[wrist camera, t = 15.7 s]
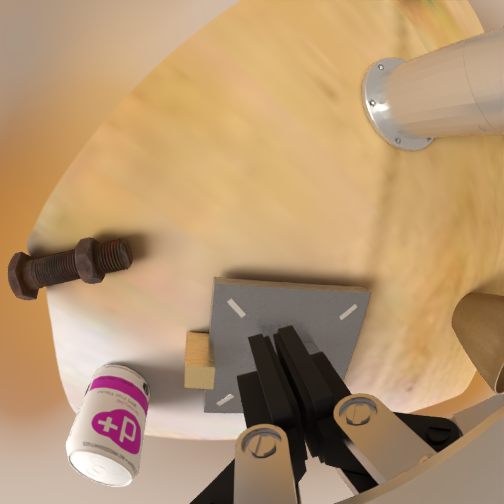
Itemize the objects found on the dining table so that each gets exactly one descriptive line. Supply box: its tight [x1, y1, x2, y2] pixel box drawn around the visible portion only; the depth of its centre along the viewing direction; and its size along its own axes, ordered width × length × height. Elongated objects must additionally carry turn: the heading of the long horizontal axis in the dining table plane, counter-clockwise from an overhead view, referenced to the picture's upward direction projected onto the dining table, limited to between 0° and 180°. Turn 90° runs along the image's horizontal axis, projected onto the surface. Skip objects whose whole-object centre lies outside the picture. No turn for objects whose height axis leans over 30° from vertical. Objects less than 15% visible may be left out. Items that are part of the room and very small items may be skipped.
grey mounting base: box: [184, 277, 371, 413], centre depth 32 cm, size 18×20×7 cm
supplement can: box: [66, 364, 150, 487], centre depth 27 cm, size 8×8×15 cm
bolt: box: [8, 237, 132, 300], centre depth 27 cm, size 6×5×15 cm
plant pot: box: [452, 294, 504, 395], centre depth 34 cm, size 15×15×16 cm
